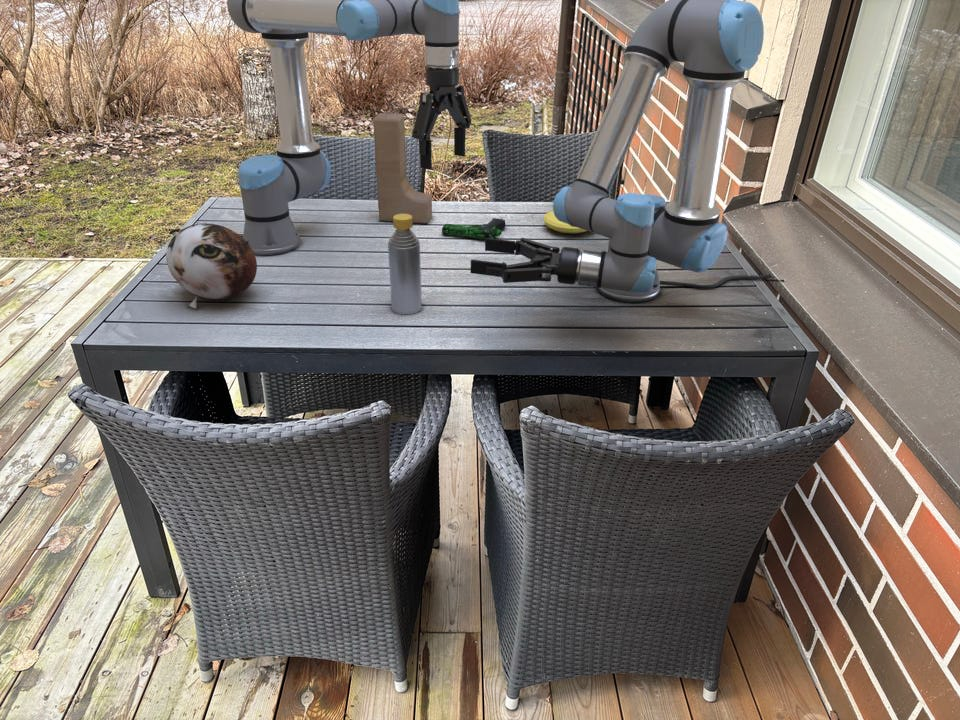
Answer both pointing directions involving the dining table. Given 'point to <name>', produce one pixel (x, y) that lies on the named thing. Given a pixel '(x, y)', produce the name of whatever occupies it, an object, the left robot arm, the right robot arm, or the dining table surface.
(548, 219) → the yellow pot lid
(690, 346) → the dining table surface
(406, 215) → the cap
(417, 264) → the bottle
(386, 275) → the dining table surface
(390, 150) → the decorative block
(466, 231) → the handgun
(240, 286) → the cat face ball
